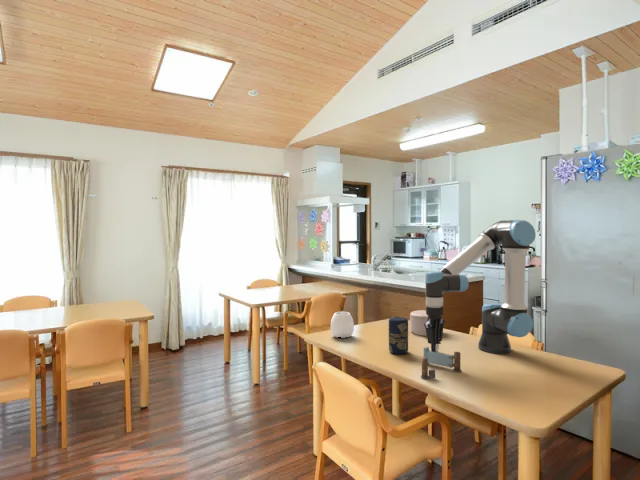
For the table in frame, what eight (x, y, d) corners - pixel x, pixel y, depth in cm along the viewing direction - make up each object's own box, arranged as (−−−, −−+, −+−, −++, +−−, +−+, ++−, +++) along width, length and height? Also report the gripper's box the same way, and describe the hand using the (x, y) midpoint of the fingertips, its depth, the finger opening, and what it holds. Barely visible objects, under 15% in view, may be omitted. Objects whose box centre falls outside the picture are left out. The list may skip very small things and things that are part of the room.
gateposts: (457, 369, 177) (457, 350, 177) (464, 372, 173) (464, 353, 173) (419, 377, 168) (418, 357, 168) (425, 380, 164) (425, 360, 164)
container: (413, 336, 232) (413, 316, 231) (407, 328, 250) (407, 309, 249) (445, 336, 231) (445, 316, 231) (437, 328, 249) (437, 309, 249)
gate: (454, 369, 177) (454, 351, 177) (452, 370, 175) (452, 353, 175) (426, 362, 185) (425, 346, 185) (423, 363, 184) (423, 347, 183)
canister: (393, 356, 196) (393, 318, 196) (385, 350, 205) (385, 315, 205) (411, 354, 199) (411, 317, 198) (402, 348, 208) (402, 313, 207)
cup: (327, 334, 237) (327, 311, 237) (348, 332, 241) (348, 310, 241) (335, 340, 224) (335, 316, 224) (357, 338, 228) (357, 314, 228)
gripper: (435, 303, 190) (436, 353, 190) (418, 306, 181) (419, 359, 182) (450, 305, 184) (450, 357, 184) (433, 309, 175) (433, 363, 176)
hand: (435, 358), depth 183 cm, fingers closed
